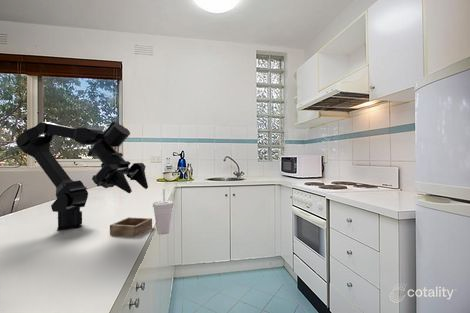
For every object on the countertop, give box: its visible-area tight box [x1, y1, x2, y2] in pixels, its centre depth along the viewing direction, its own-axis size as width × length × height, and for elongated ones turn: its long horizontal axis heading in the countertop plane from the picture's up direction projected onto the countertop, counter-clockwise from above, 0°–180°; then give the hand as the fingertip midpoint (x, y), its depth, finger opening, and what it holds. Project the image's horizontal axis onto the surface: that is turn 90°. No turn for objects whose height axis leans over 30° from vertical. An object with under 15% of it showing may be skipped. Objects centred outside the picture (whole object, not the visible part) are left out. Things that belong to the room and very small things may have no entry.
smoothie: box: [152, 188, 174, 236], centre depth 75 cm, size 6×6×14 cm
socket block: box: [109, 216, 153, 237], centre depth 77 cm, size 9×9×3 cm
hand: (139, 190), depth 77 cm, fingers open, 9 cm apart
